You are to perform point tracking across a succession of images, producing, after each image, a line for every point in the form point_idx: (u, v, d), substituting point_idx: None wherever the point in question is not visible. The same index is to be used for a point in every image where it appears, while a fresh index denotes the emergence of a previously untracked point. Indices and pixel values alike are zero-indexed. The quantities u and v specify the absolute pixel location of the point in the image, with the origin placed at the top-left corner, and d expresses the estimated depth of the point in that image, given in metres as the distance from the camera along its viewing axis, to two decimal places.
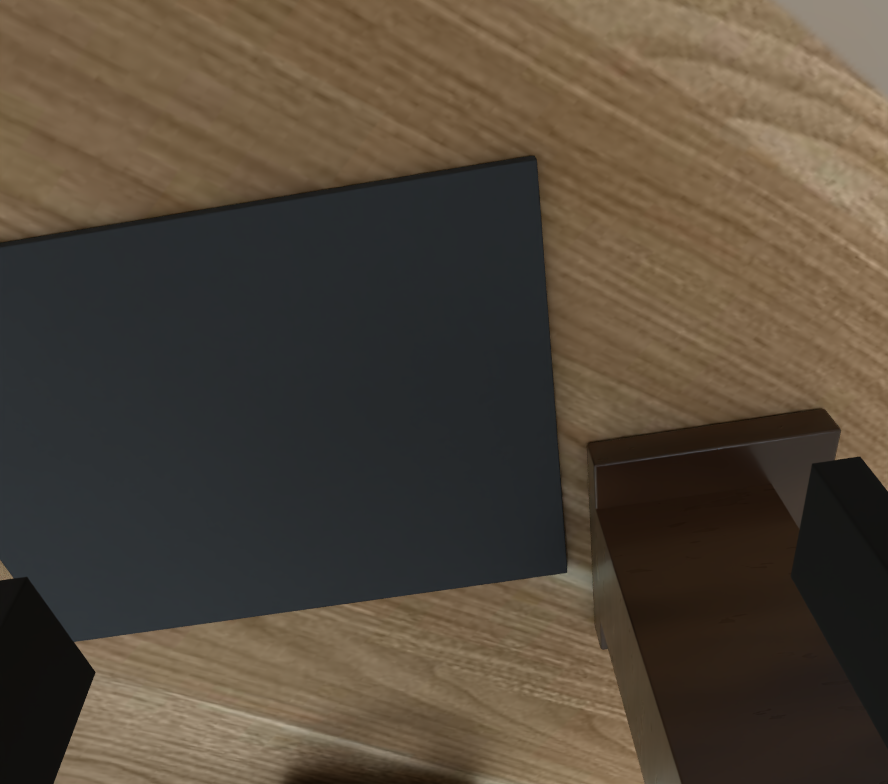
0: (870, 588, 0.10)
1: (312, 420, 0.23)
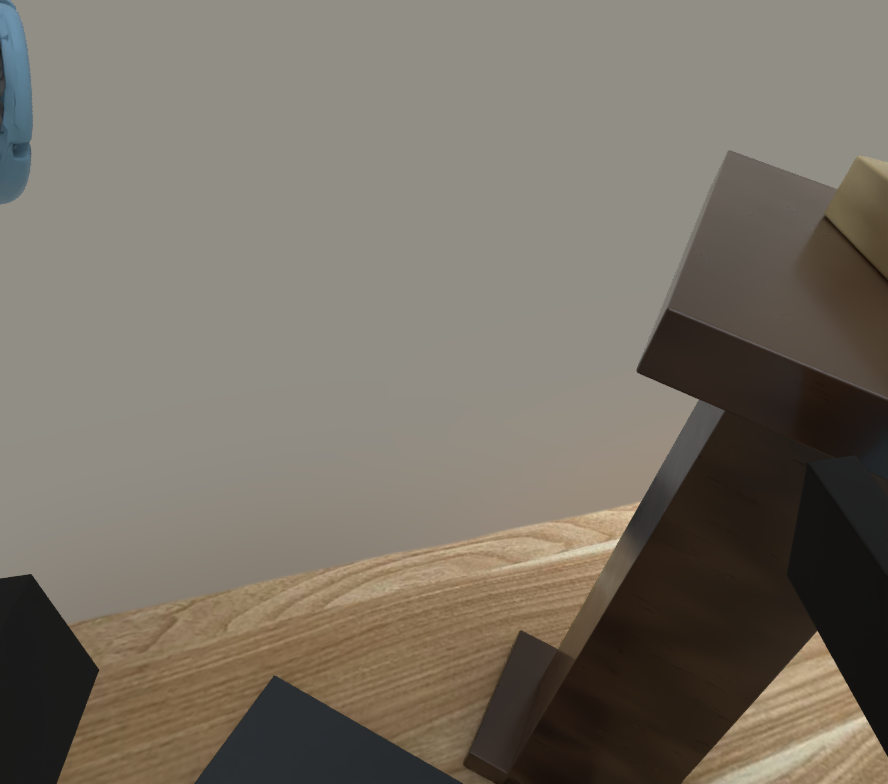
0: (864, 586, 0.10)
1: None
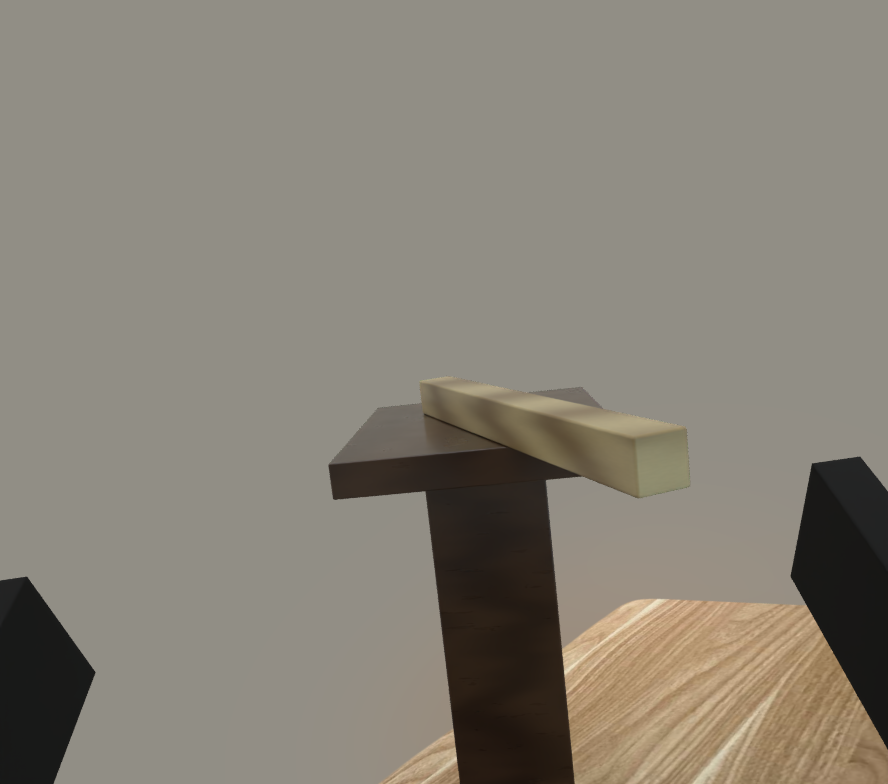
0: (871, 588, 0.10)
1: None
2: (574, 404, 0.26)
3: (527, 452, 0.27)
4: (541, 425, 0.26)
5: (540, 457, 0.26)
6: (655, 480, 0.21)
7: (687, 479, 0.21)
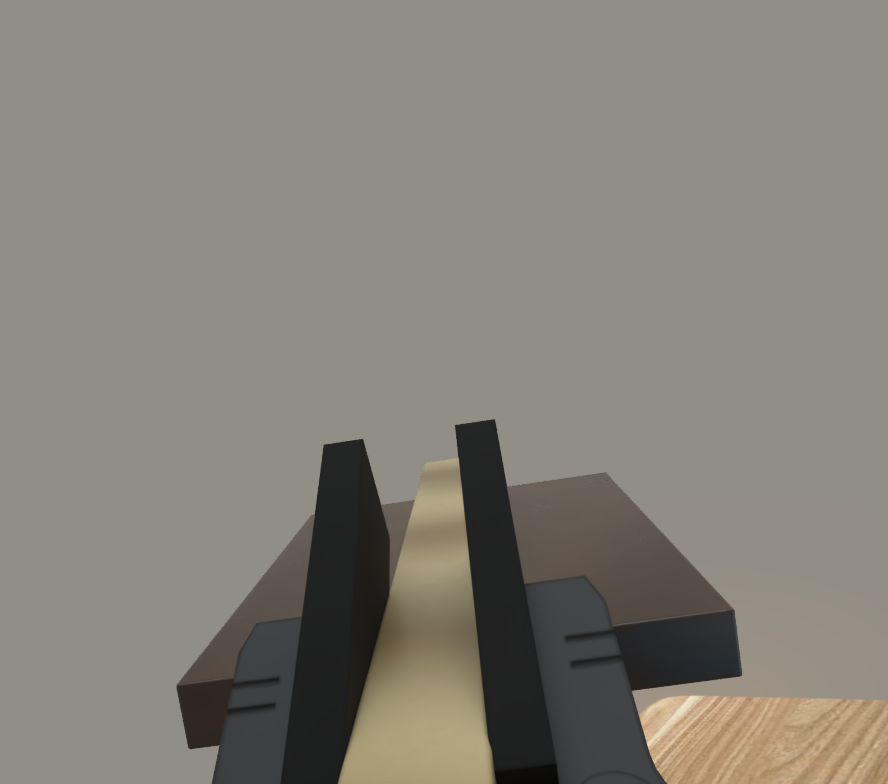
0: None
1: None
2: (466, 595, 0.13)
3: None
4: None
5: None
6: None
7: None
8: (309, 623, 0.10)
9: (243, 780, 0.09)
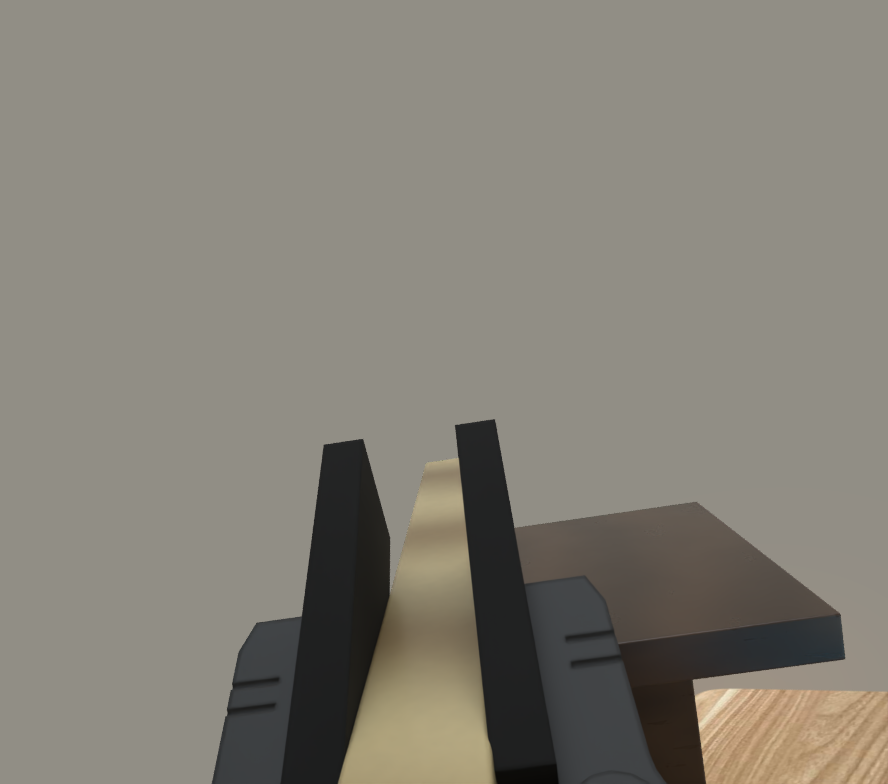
0: None
1: None
2: (467, 595, 0.13)
3: None
4: None
5: None
6: None
7: None
8: (309, 623, 0.10)
9: (243, 780, 0.09)
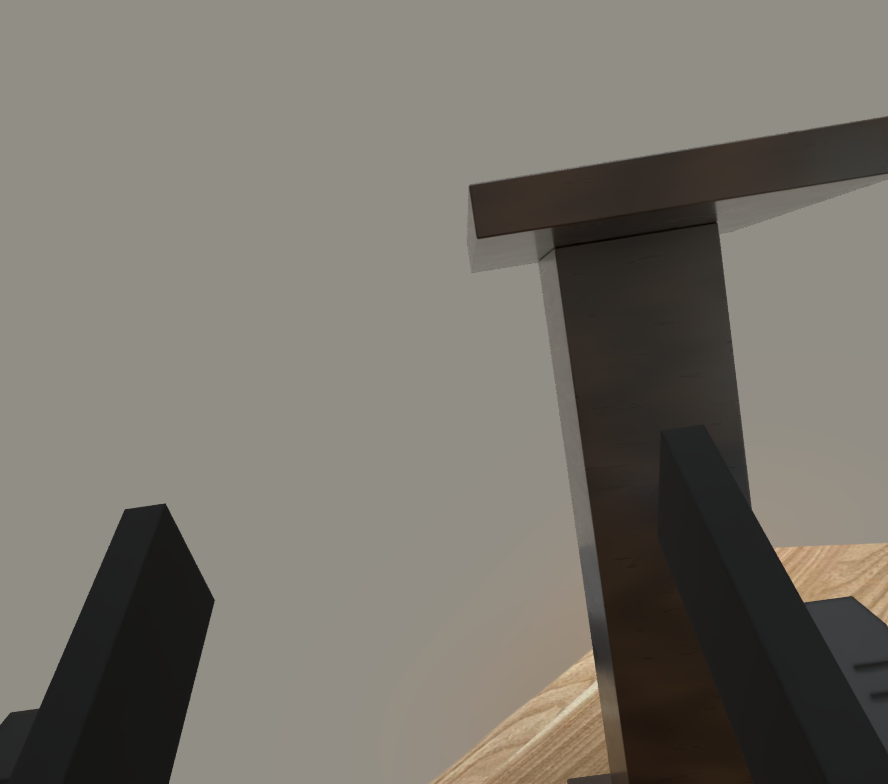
0: (696, 539, 0.12)
1: None
2: None
3: None
4: None
5: None
6: None
7: None
8: (41, 722, 0.10)
9: None
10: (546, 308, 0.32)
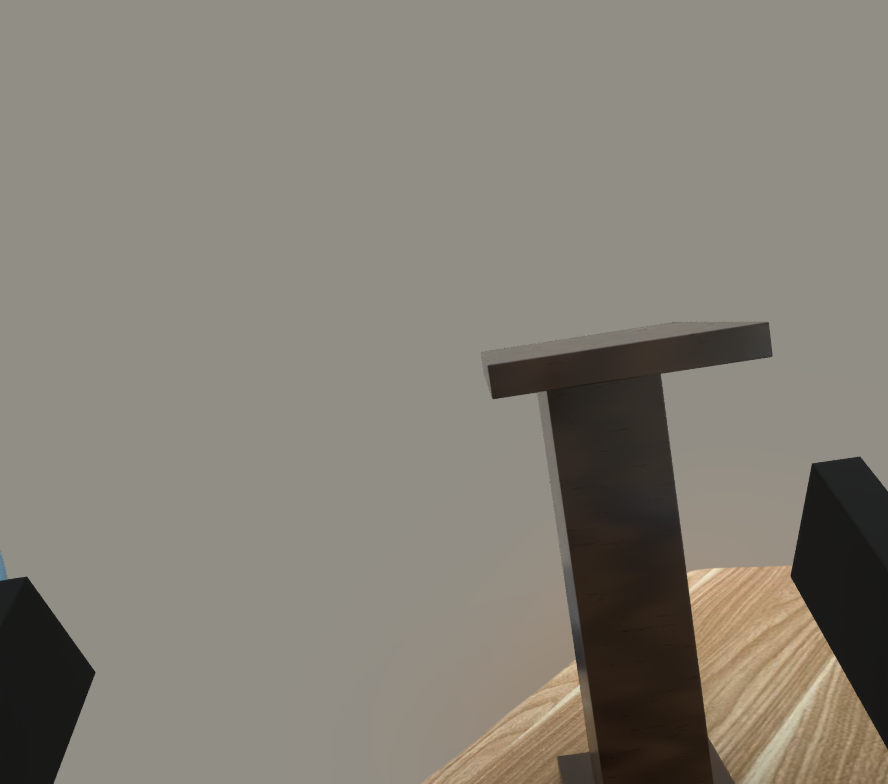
0: (871, 588, 0.10)
1: None
2: None
3: None
4: None
5: None
6: None
7: None
8: None
9: None
10: (540, 405, 0.44)
